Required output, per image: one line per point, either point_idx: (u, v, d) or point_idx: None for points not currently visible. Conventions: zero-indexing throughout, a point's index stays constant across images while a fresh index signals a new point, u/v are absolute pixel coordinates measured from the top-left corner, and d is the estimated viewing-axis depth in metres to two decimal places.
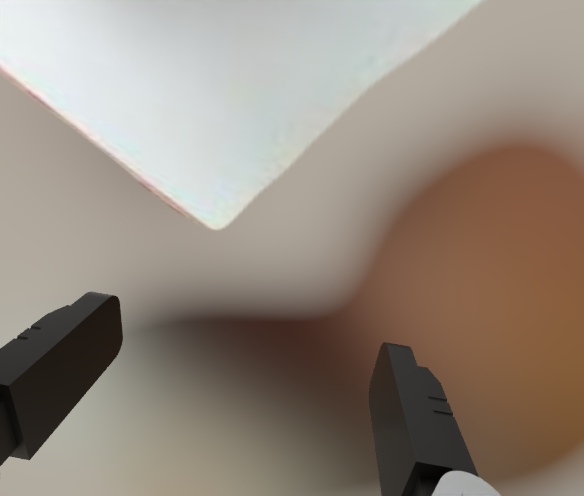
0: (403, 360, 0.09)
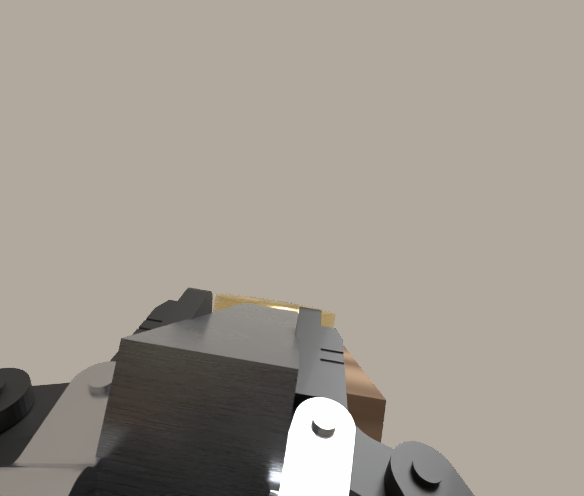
0: (310, 319, 0.10)
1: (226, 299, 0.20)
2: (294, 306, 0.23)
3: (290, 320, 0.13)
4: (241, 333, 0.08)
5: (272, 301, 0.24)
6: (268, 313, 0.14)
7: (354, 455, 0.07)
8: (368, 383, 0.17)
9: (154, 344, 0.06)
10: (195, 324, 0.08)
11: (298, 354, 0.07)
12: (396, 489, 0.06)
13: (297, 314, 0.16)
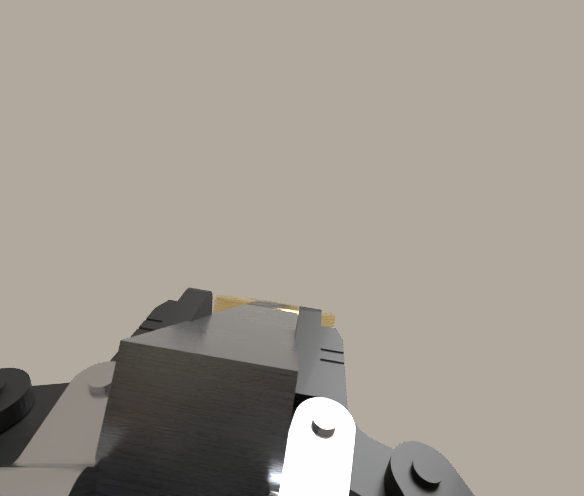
0: (309, 319, 0.10)
1: (226, 301, 0.20)
2: (294, 308, 0.23)
3: (290, 322, 0.13)
4: (241, 335, 0.08)
5: (272, 303, 0.24)
6: (268, 315, 0.14)
7: (354, 455, 0.07)
8: None
9: (153, 346, 0.06)
10: (195, 326, 0.08)
11: None
12: (396, 489, 0.06)
13: (297, 316, 0.16)
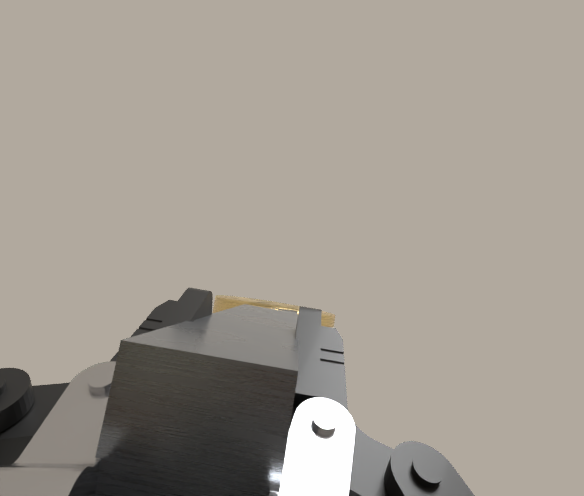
0: (309, 319, 0.10)
1: (226, 301, 0.20)
2: (294, 308, 0.23)
3: (290, 322, 0.13)
4: (241, 335, 0.08)
5: (272, 303, 0.24)
6: (268, 315, 0.14)
7: (354, 455, 0.07)
8: None
9: (154, 346, 0.06)
10: (195, 326, 0.08)
11: None
12: (396, 489, 0.06)
13: (297, 316, 0.16)
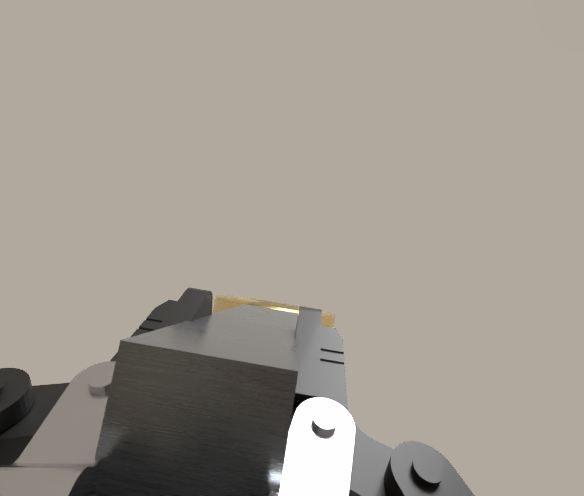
0: (309, 319, 0.10)
1: (226, 301, 0.20)
2: (294, 308, 0.23)
3: (290, 322, 0.13)
4: (241, 335, 0.08)
5: (272, 303, 0.24)
6: (268, 315, 0.14)
7: (354, 455, 0.07)
8: None
9: (153, 346, 0.06)
10: (194, 326, 0.08)
11: None
12: (396, 489, 0.06)
13: (297, 316, 0.16)
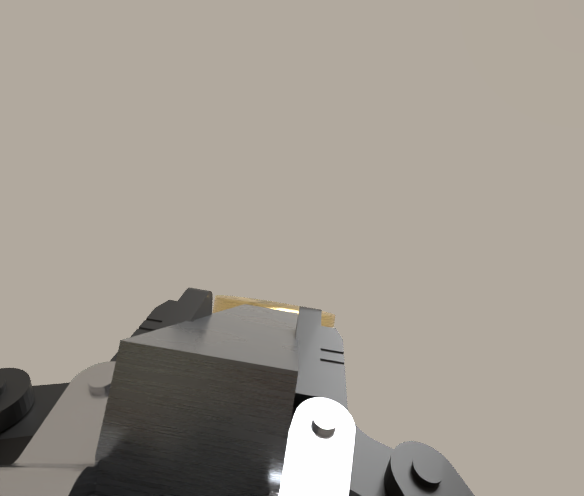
0: (309, 319, 0.10)
1: (226, 301, 0.20)
2: (294, 308, 0.23)
3: (290, 322, 0.13)
4: (241, 335, 0.08)
5: (272, 303, 0.24)
6: (268, 315, 0.14)
7: (354, 455, 0.07)
8: None
9: (153, 346, 0.06)
10: (194, 326, 0.08)
11: None
12: (396, 489, 0.06)
13: (297, 316, 0.16)
